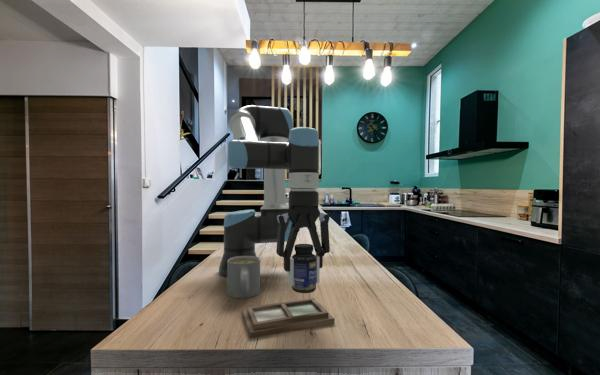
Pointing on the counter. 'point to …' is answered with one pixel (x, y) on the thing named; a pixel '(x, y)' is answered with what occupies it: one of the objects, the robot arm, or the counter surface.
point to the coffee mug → (243, 276)
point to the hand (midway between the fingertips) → (303, 282)
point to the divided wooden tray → (285, 317)
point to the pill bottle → (304, 269)
